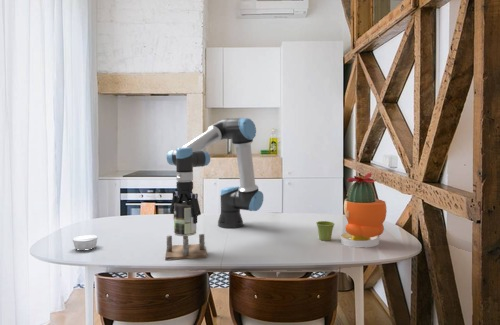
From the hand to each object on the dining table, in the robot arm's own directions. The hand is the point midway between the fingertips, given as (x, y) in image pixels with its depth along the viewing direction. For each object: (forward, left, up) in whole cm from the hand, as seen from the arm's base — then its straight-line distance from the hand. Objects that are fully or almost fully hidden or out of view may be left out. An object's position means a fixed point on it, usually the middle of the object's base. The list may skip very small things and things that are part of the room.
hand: (185, 228), depth 181 cm
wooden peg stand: (0, 0, -11) cm, 11 cm away
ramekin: (+48, -16, -12) cm, 52 cm away
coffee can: (0, 0, -2) cm, 2 cm away
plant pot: (-72, -10, -12) cm, 74 cm away
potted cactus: (-89, 0, -12) cm, 90 cm away
